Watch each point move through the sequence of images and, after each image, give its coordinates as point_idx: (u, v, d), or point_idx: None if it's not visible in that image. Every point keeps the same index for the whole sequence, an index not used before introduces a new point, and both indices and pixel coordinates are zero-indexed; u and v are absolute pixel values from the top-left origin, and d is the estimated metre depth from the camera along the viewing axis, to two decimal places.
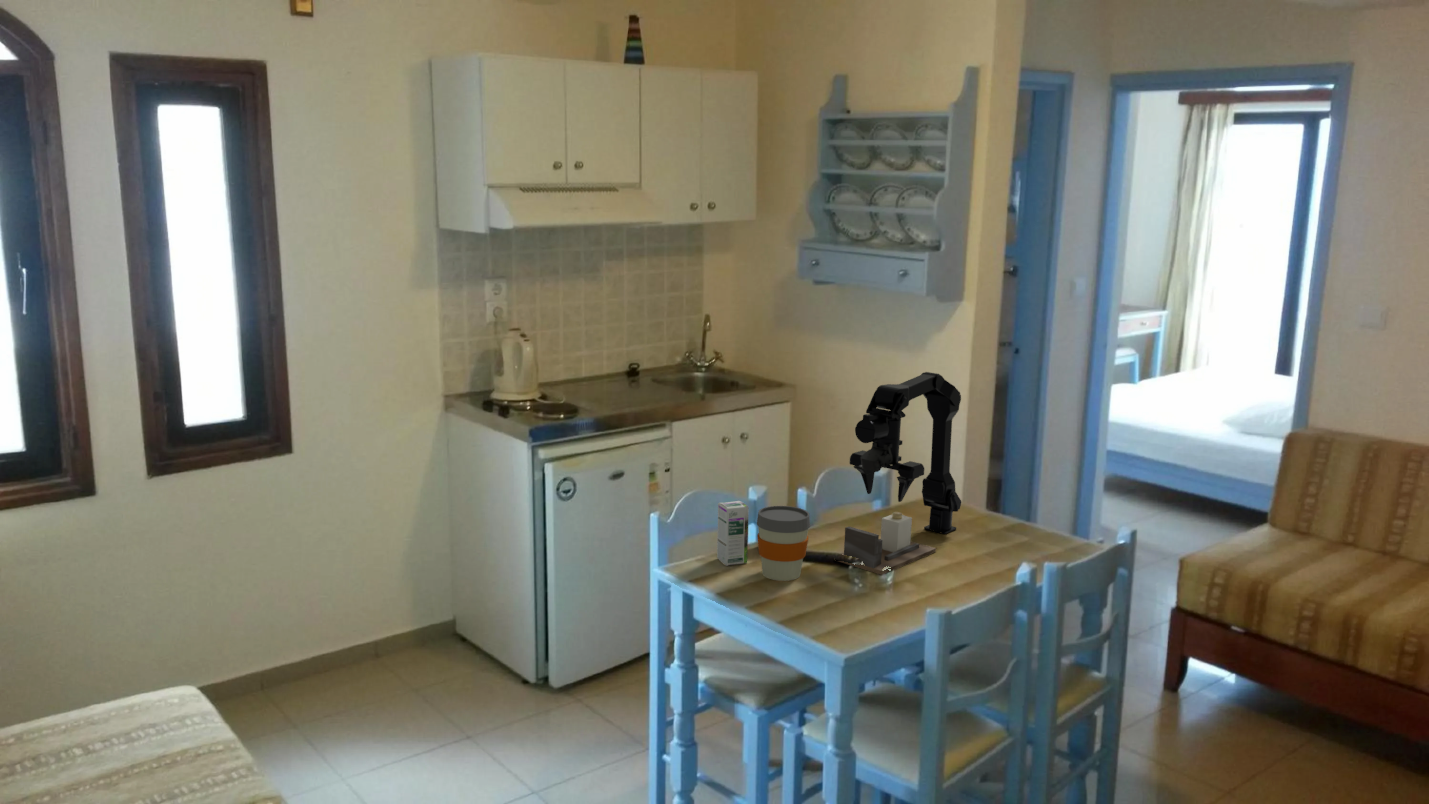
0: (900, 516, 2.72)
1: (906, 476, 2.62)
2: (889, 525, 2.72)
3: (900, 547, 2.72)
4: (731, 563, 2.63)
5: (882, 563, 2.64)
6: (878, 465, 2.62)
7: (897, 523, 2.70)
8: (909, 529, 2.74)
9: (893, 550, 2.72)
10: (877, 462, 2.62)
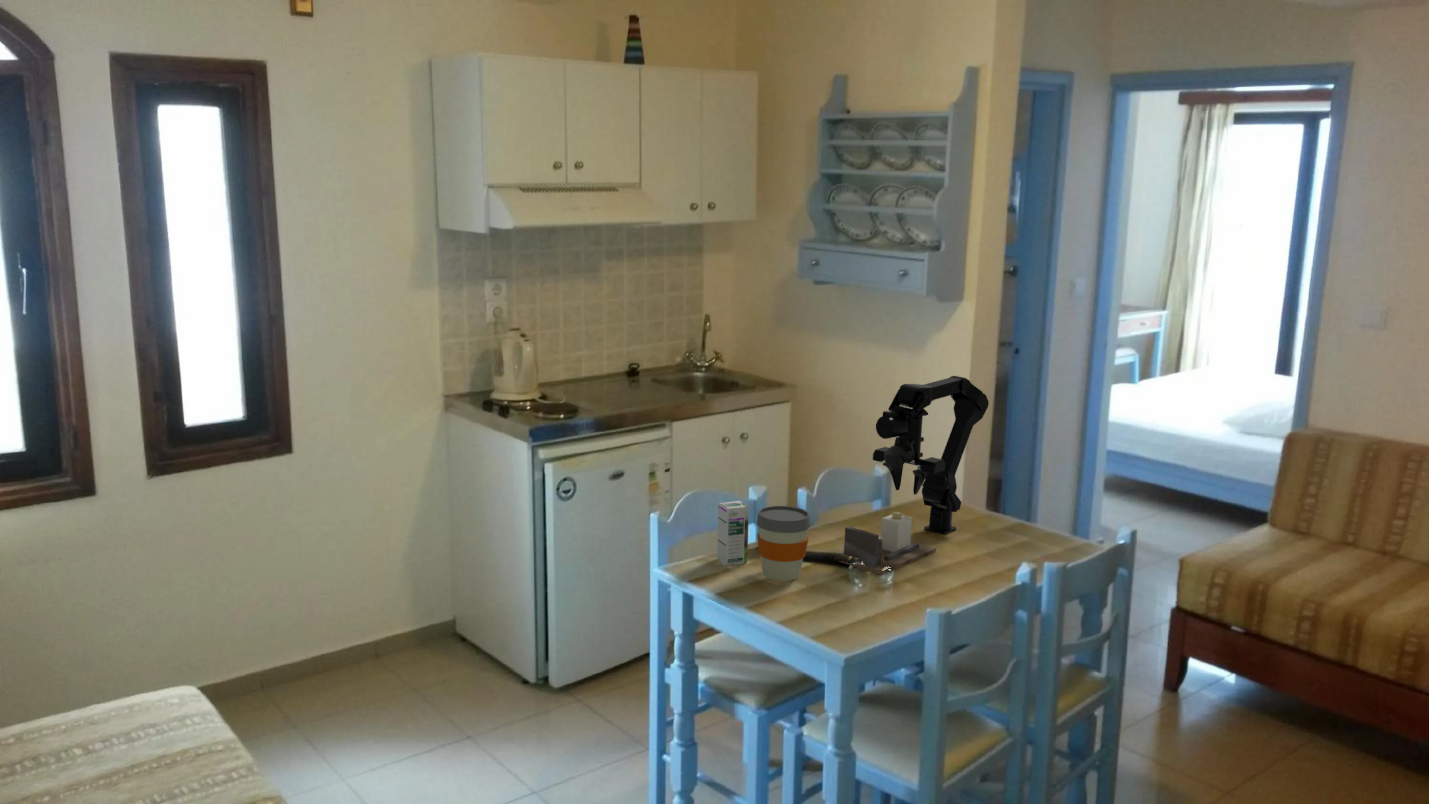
0: (900, 516, 2.72)
1: (928, 471, 2.74)
2: (889, 525, 2.72)
3: (900, 547, 2.72)
4: (731, 563, 2.63)
5: (882, 563, 2.64)
6: (901, 461, 2.73)
7: (897, 523, 2.70)
8: (909, 529, 2.74)
9: (893, 550, 2.72)
10: (900, 458, 2.73)
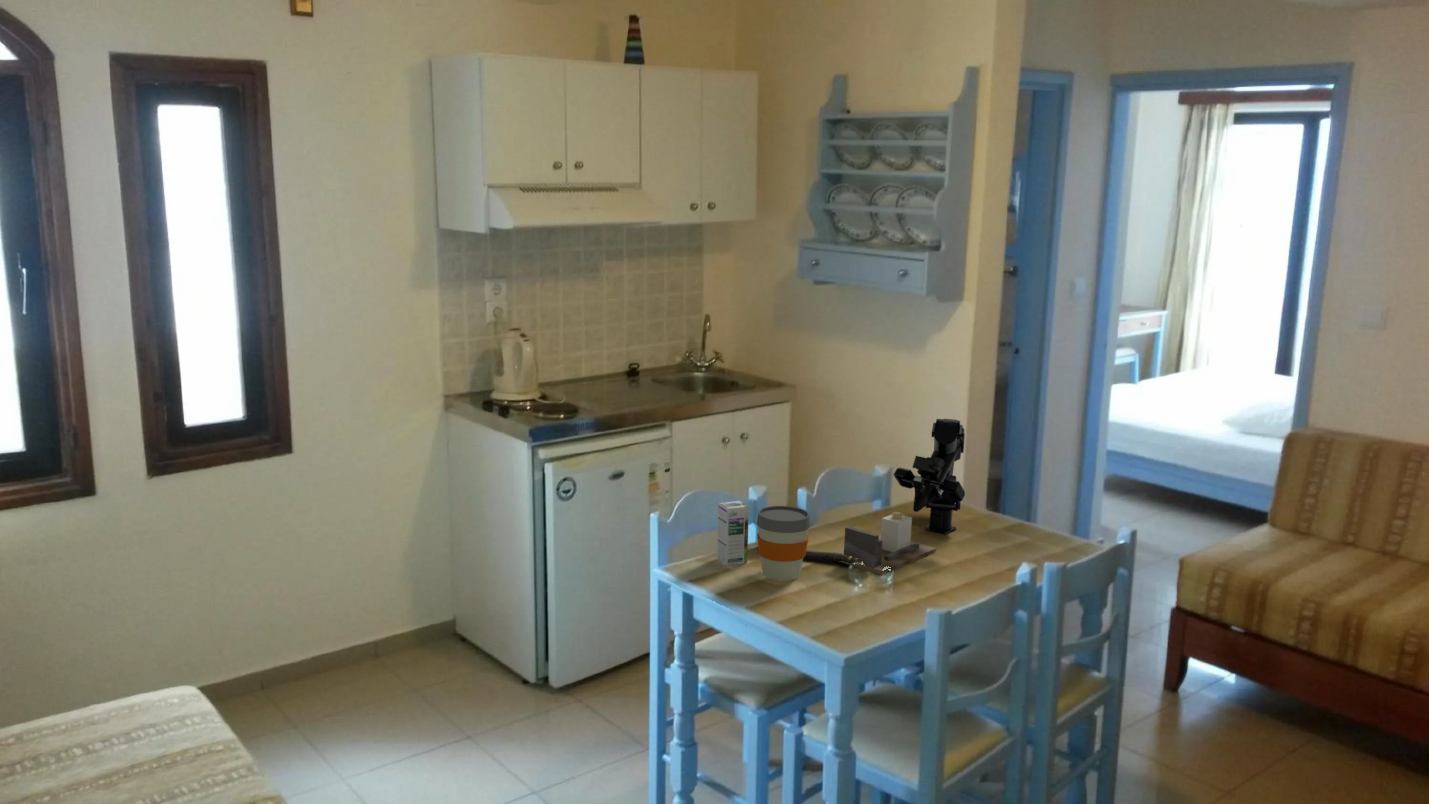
0: (900, 516, 2.72)
1: (950, 486, 2.75)
2: (889, 525, 2.72)
3: (900, 547, 2.72)
4: (731, 563, 2.63)
5: (882, 563, 2.64)
6: (931, 463, 2.76)
7: (897, 523, 2.70)
8: (909, 529, 2.74)
9: (893, 550, 2.72)
10: (932, 460, 2.76)
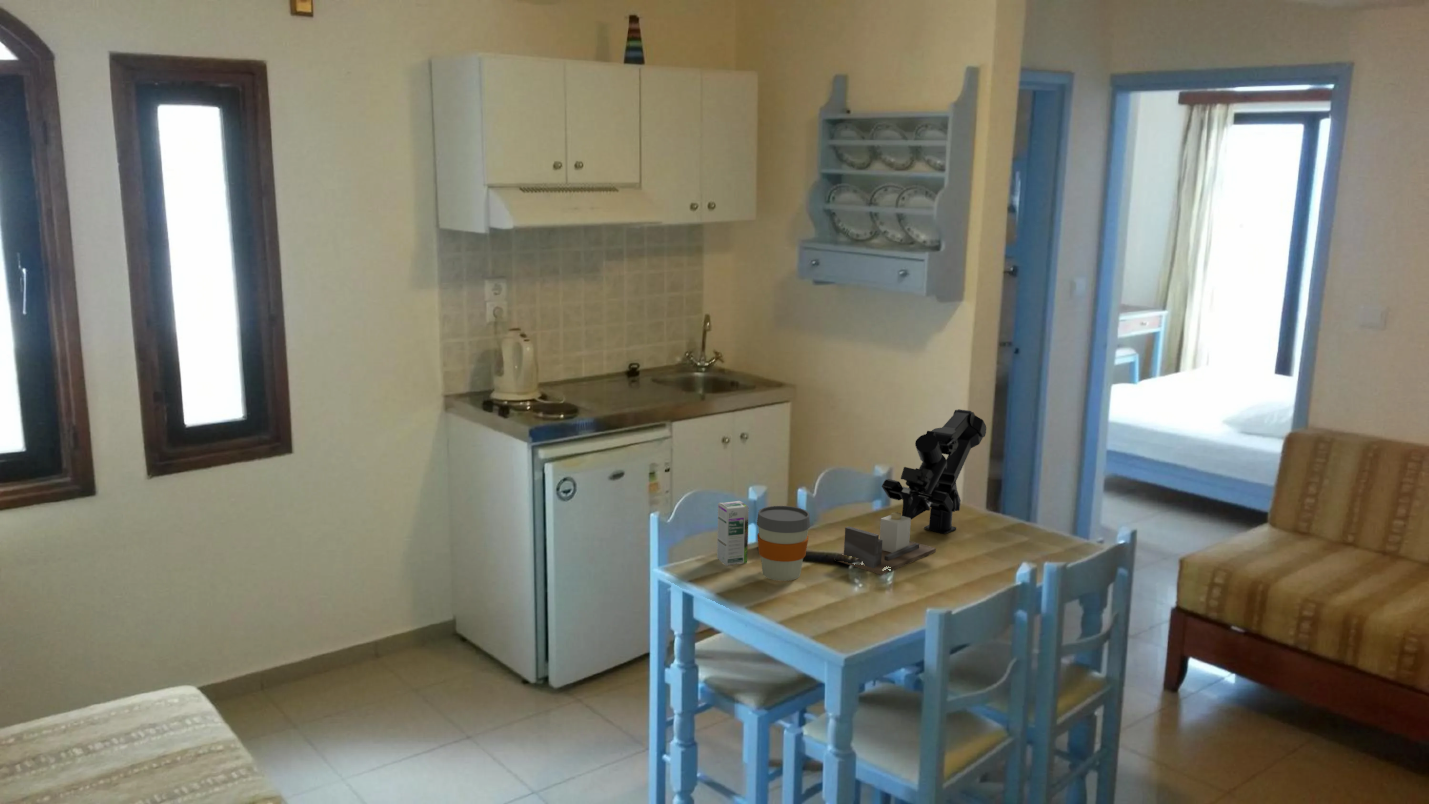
0: (899, 516, 2.72)
1: (939, 498, 2.71)
2: (888, 525, 2.71)
3: (899, 547, 2.72)
4: (731, 563, 2.63)
5: (882, 563, 2.64)
6: (920, 474, 2.72)
7: (896, 523, 2.70)
8: (908, 529, 2.74)
9: (892, 550, 2.71)
10: (920, 471, 2.73)
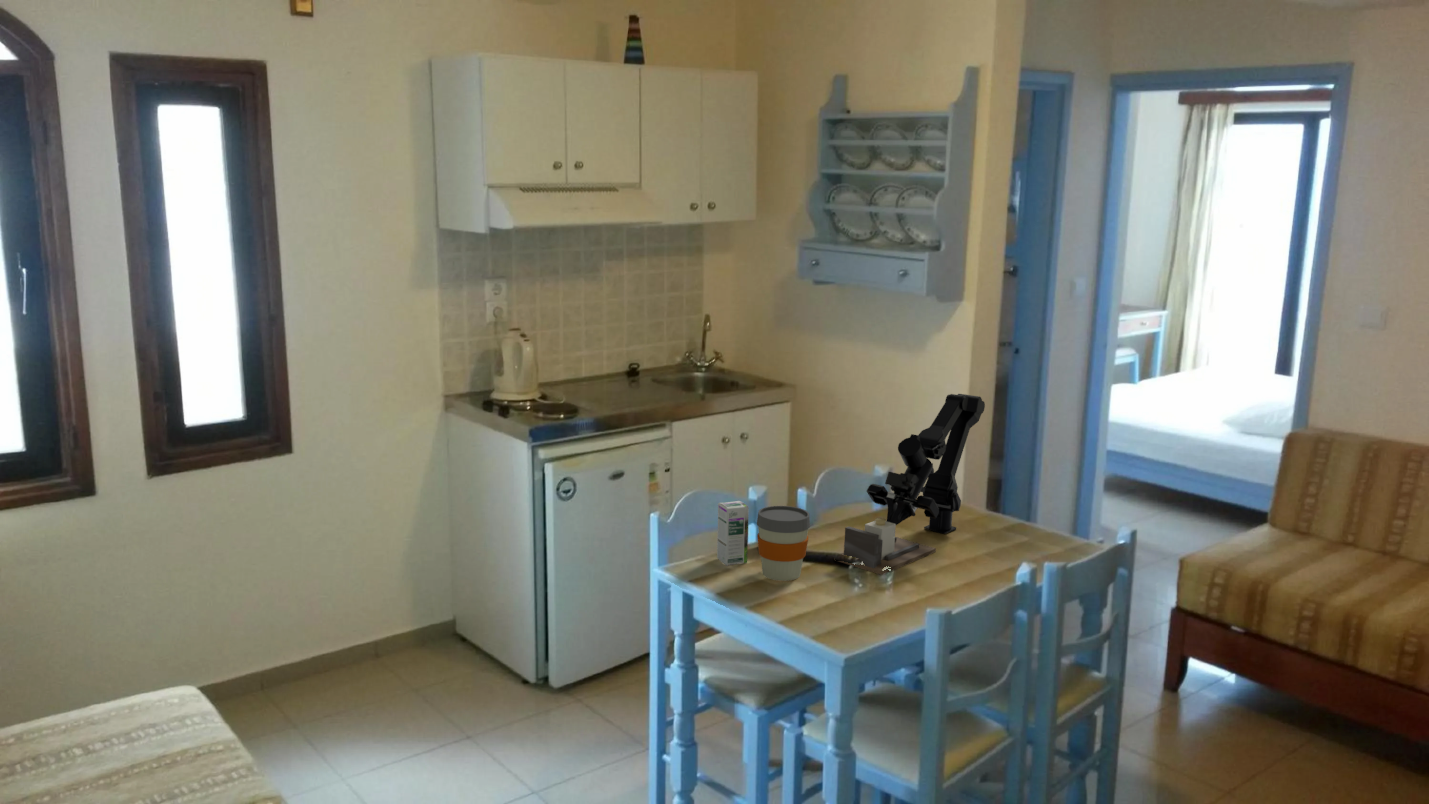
0: (883, 522, 2.67)
1: (924, 503, 2.67)
2: (872, 531, 2.66)
3: (884, 553, 2.67)
4: (731, 563, 2.63)
5: (882, 563, 2.64)
6: (904, 479, 2.68)
7: (880, 529, 2.65)
8: (893, 535, 2.69)
9: None
10: (905, 476, 2.68)
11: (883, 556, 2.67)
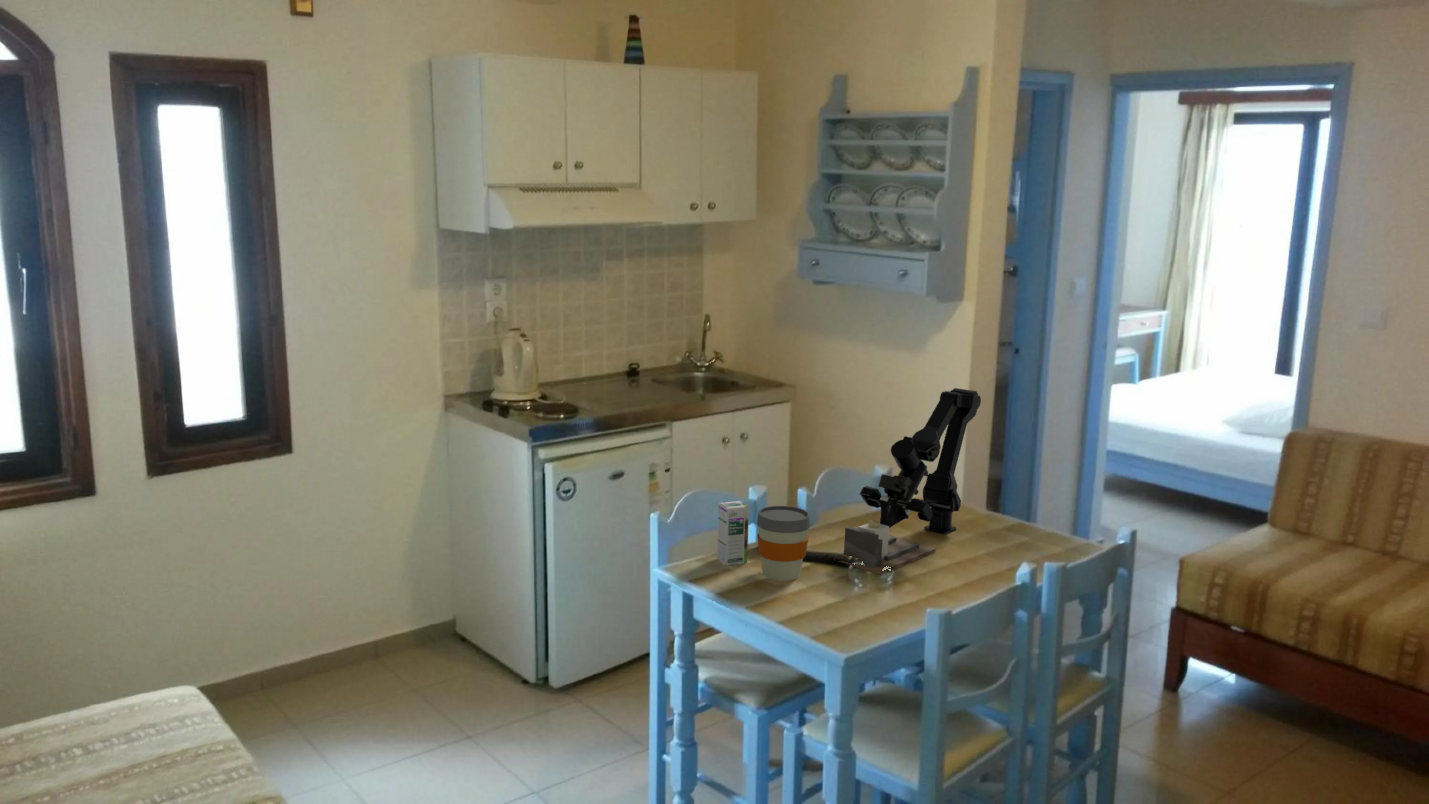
0: (877, 525, 2.65)
1: (917, 506, 2.64)
2: None
3: None
4: (731, 563, 2.63)
5: (882, 563, 2.64)
6: (898, 482, 2.65)
7: (873, 532, 2.63)
8: (886, 538, 2.67)
9: None
10: (898, 479, 2.66)
11: None
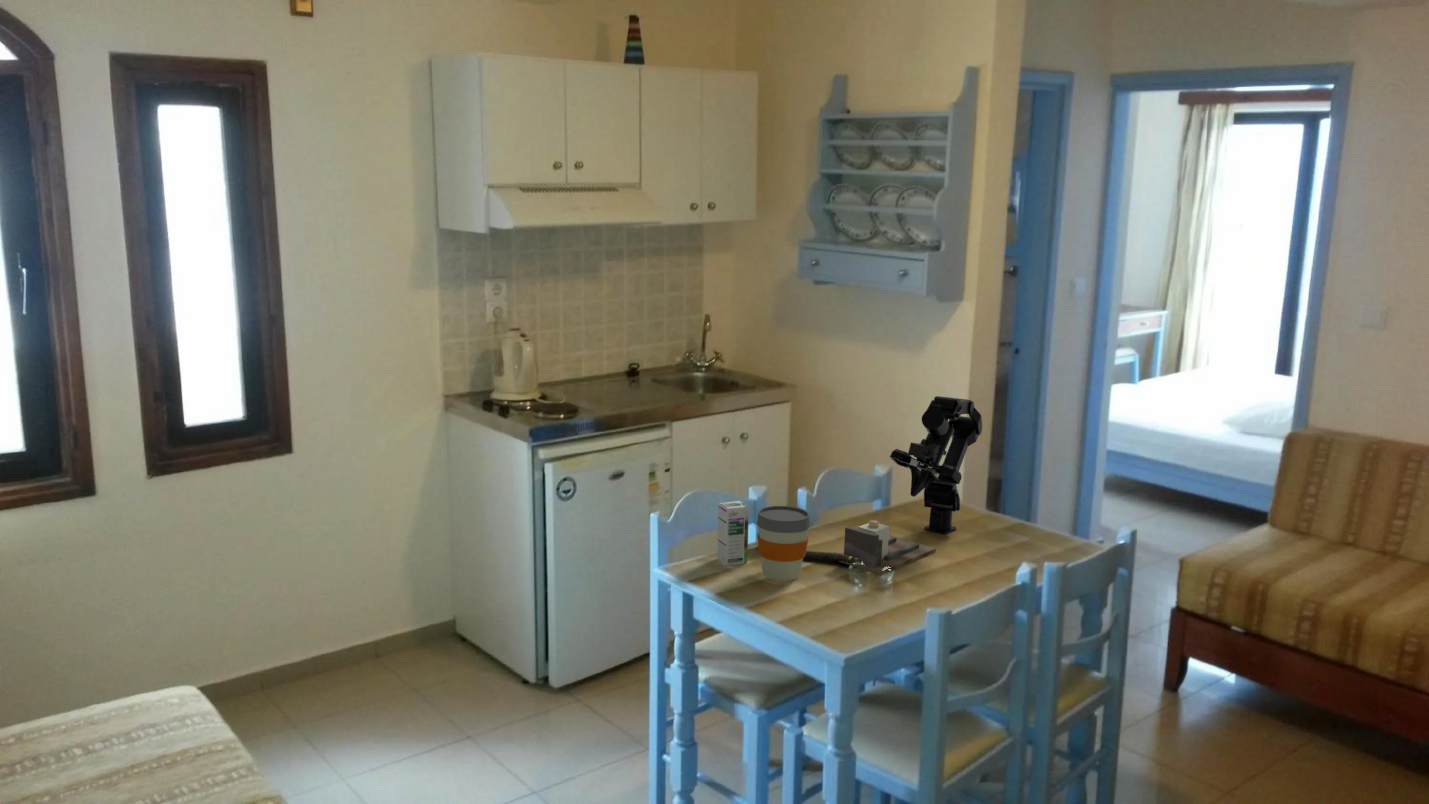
0: (877, 525, 2.65)
1: (946, 473, 2.74)
2: None
3: None
4: (731, 563, 2.63)
5: (882, 563, 2.64)
6: (927, 451, 2.74)
7: (873, 532, 2.63)
8: (886, 538, 2.67)
9: None
10: (927, 448, 2.74)
11: None
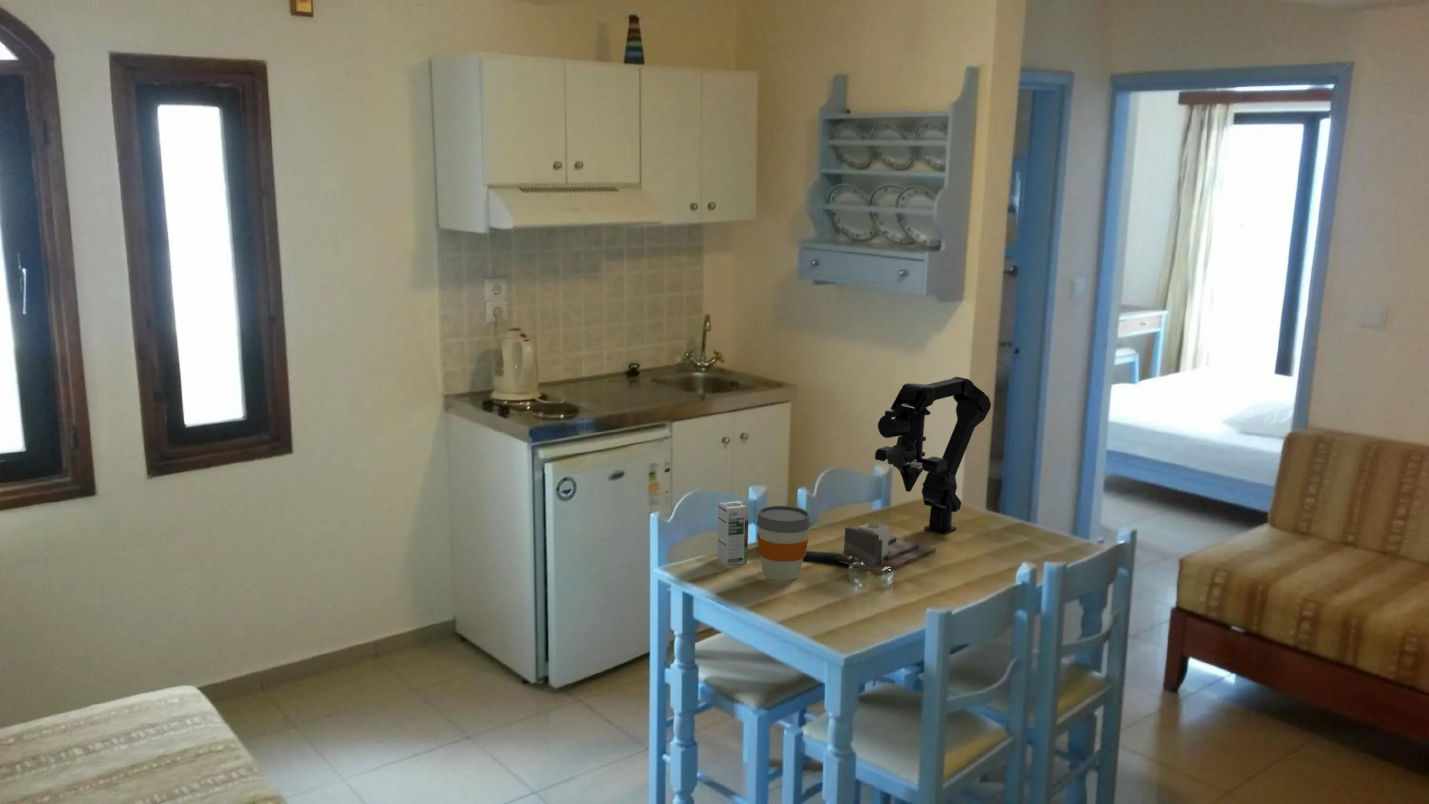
0: (877, 525, 2.65)
1: (930, 471, 2.74)
2: None
3: None
4: (731, 563, 2.63)
5: (882, 563, 2.64)
6: (903, 460, 2.73)
7: (873, 532, 2.63)
8: (886, 538, 2.67)
9: None
10: (902, 457, 2.73)
11: None
